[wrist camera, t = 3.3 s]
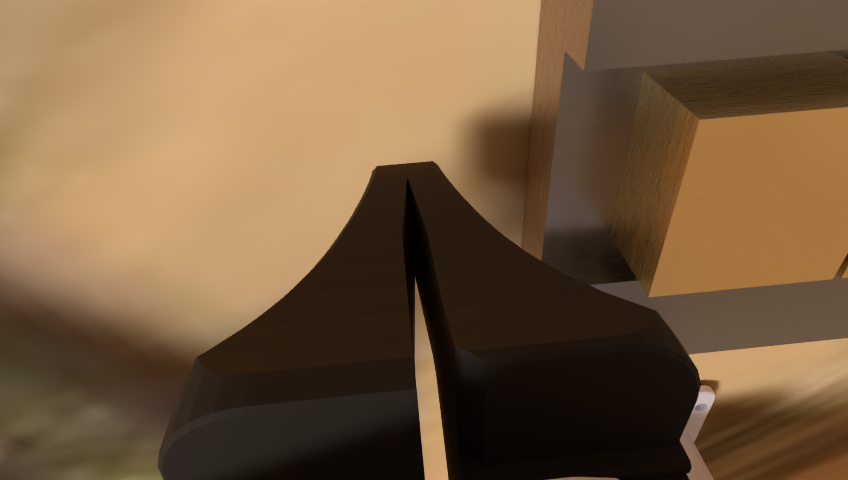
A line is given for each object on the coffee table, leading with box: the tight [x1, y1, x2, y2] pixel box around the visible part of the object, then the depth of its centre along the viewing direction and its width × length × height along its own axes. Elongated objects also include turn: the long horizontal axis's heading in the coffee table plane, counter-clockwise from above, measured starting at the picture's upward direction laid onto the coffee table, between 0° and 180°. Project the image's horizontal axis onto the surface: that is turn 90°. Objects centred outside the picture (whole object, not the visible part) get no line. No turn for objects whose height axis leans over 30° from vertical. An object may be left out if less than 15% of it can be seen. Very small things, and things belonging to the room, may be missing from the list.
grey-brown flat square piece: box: [521, 0, 848, 354], centre depth 13 cm, size 12×12×3 cm
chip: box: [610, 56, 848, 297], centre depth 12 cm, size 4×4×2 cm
